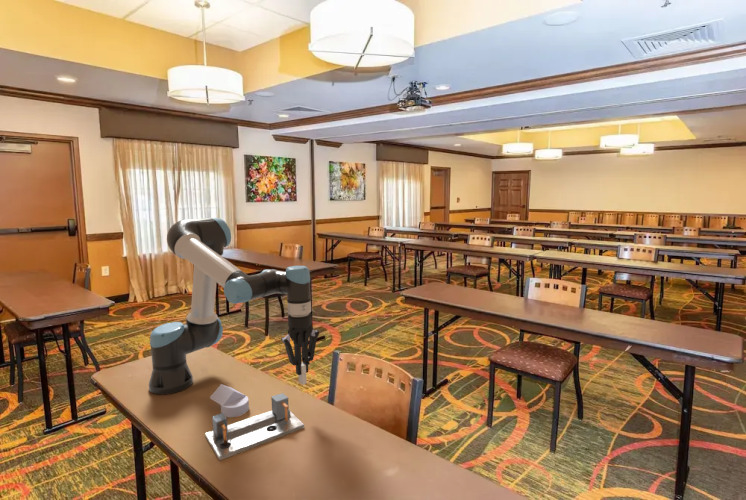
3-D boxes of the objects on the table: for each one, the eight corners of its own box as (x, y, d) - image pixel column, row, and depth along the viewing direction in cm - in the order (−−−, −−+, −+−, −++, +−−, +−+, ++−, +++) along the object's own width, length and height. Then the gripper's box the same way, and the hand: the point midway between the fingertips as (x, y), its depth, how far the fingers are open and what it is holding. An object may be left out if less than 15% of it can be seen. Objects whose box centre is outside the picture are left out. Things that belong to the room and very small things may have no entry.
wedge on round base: (210, 407, 142) (230, 420, 134) (208, 388, 141) (228, 400, 133) (233, 397, 149) (254, 409, 141) (232, 379, 148) (253, 390, 140)
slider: (272, 415, 134) (271, 396, 133) (283, 411, 136) (282, 392, 135) (281, 425, 128) (280, 405, 127) (293, 421, 130) (292, 401, 130)
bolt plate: (205, 436, 125) (203, 413, 124) (284, 409, 140) (284, 388, 139) (219, 460, 114) (217, 434, 113) (304, 427, 129) (303, 404, 128)
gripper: (286, 320, 127) (289, 392, 130) (323, 312, 134) (325, 381, 138) (276, 315, 133) (279, 384, 136) (311, 307, 140) (314, 373, 144)
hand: (302, 382), depth 137 cm, fingers closed
